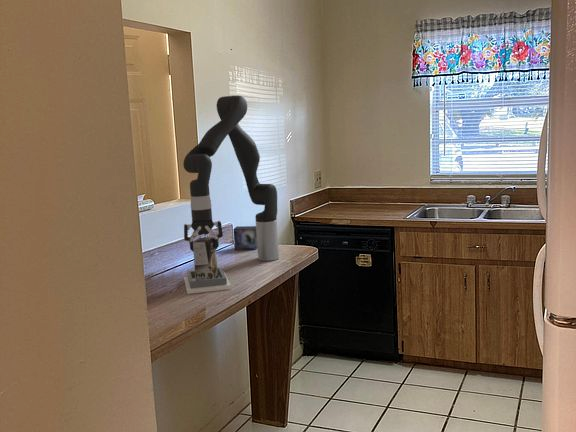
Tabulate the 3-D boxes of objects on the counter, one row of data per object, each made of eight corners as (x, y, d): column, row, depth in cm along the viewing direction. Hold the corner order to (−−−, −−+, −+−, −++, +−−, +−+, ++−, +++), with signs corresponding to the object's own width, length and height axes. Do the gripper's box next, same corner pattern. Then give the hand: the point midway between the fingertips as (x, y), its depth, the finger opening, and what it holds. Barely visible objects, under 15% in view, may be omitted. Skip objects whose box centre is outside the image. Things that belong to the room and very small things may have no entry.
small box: (234, 250, 286) (232, 228, 285) (237, 247, 293) (236, 226, 291) (255, 250, 284) (254, 228, 283) (258, 247, 291) (257, 225, 289)
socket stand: (184, 280, 236) (183, 270, 235) (224, 276, 239) (224, 266, 239) (187, 293, 218) (186, 283, 217) (231, 288, 221) (230, 278, 220)
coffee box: (211, 284, 223) (208, 241, 221) (195, 284, 225) (191, 241, 222) (218, 277, 232) (215, 236, 230) (203, 277, 233) (199, 236, 231)
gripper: (219, 204, 229) (222, 246, 231) (181, 207, 226) (184, 249, 228) (221, 207, 222) (224, 250, 224) (182, 210, 219) (186, 254, 221)
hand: (204, 249), depth 226 cm, fingers open, 8 cm apart
